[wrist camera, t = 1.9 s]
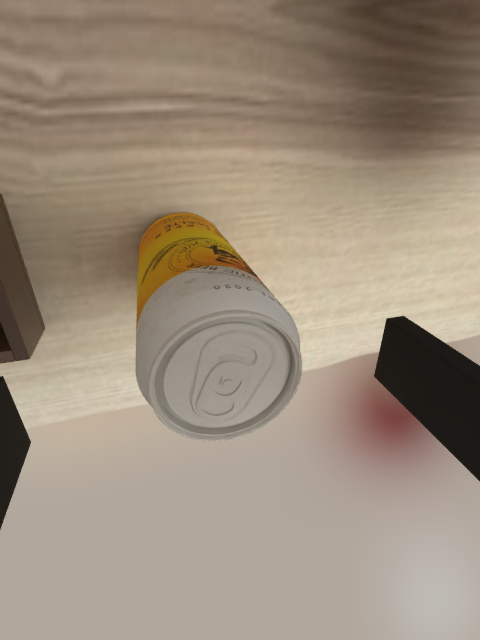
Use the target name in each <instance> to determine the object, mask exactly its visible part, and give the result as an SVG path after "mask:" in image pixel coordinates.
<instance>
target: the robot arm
mask: <svg viewBox="0 0 480 640" xmlns="http://www.w3.org/2000/svg"><path fill="white" fill-rule="evenodd" d="M374 376H375V378H377V380H378V381H379V382H380V383H381V384H383V386H384V387H385V388H386V389H387V390H388V391H389V392H390V393H391V394H392V395H393V396H394V397H395V398H397V399H398V400H399V402H400V403H401V404H402V405H404V406H405V407H406V409H408V411H410V412H411V413H412V414H413V415H414V416H415V417H416V418H417V419H418V420H419V421H420V422H421V423H422V424H423V425H424V426H425V427H426V428H427V429H428V430H429V431H430V432H431V433H432V434H433V435H434V436H435V437H436V438H437V439H438V440H439V441H440V442H441V443H442V444H443V445H444V446H445V447H446V448H447V449H448V450H449V451H450V452H451V453H452V454H453V455H454V456H455V457H456V458H457V459H458V460H459V461H460V462H461V463H462V464H463V465H464V466H465V467H466V468H467V469H468V470H469V471H470V472H471V473H472V474H473V475H474V476H475V477H476V478H477V479H478V480H479V481H480V366H479V365H478V364H476V363H474V362H473V361H471V360H470V359H468V358H467V357H465V356H464V355H462V354H461V353H459V352H458V351H456V350H455V349H453V348H452V347H450V346H449V345H447V344H446V343H444V342H443V341H441V340H440V339H438V338H436V337H435V336H433V335H432V334H430V333H429V332H427V331H426V330H424V329H423V328H421V327H420V326H418V325H417V324H415V323H414V322H412V321H411V320H409V319H408V318H406V317H404V316H401V317H394V318H387V320H386V324H385V329H384V333H383V338H382V342H381V347H380V352H379V357H378V361H377V365H376V370H375V374H374ZM30 443H31V441H30V439H29V436H28V434H27V432H26V429H25V427H24V425H23V422H22V420H21V417H20V415H19V413H18V410H17V408H16V406H15V403H14V401H13V399H12V396H11V394H10V392H9V389H8V387H7V384H6V382H5V380H4V377H3V376H1V377H0V529H1V526H2V523H3V520H4V517H5V515H6V512H7V509H8V506H9V503H10V500H11V498H12V495H13V492H14V489H15V486H16V483H17V480H18V478H19V475H20V472H21V469H22V466H23V464H24V461H25V458H26V455H27V452H28V449H29V447H30Z"/></svg>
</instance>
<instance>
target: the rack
mask: <svg viewBox="0 0 480 640" xmlns="http://www.w3.org/2000/svg"><path fill="white" fill-rule="evenodd" d="M44 330H45V326H44V323H43V320H42V317H41V314H40V311H39V308H38V304H37V301H36V298H35V295H34V292H33V289H32V286H31V283H30V280H29V277H28V274H27V271H26V268H25V265H24V262H23V258H22V255H21V252H20V249H19V246H18V243H17V240H16V237H15V234H14V231H13V228H12V225H11V222H10V219H9V216H8V212H7V209H6V206H5V203H4V200H3V197H2V195H1V194H0V363H6V362H13V361H20V360H27V359H30V358H31V356H32V354H33V352H34V350H35V348H36V346H37V344H38V342H39V340H40V338H41V336H42V334H43V331H44Z"/></svg>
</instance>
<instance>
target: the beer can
mask: <svg viewBox="0 0 480 640" xmlns="http://www.w3.org/2000/svg"><path fill="white" fill-rule="evenodd" d="M301 373H302V359H301V354H300V340H299V334H298V331H297V327H296V325H295V323H294V321H293V319H292V317H291V316H290V314H289V313H288V312H287V311H286V309H285V308H284V307H283V306H282V305H281V304H280V302H279V301H278V300H277V299H276V298H275V296H274V295H273V294H272V293H271V292H270V291H269V289H268V288H267V287H266V286H265V285H264V284H263V282H262V281H261V280H260V279H259V278H258V277H257V275H256V274H255V273H254V272H253V271H252V269H251V268H250V267H249V266H248V265H247V264H246V262H245V261H244V260H243V259H242V258H241V257H240V255H239V254H238V253H237V252H236V251H235V250H234V248H233V247H232V246H231V245H230V244H229V242H228V241H227V240H226V239H225V238H224V237H223V235H222V234H221V233H220V232H219V231H218V230H217V228H216V227H215V226H214V225H213V224H212V223H210V222H209V221H208V220H206V219H204V218H203V217H200V216H198V215H195V214H191V213H174V214H170V215H167V216H164V217H162V218H160V219H158V220H157V221H155V222H154V223H153V224H152V225H151V226H150V227H149V228H148V229H147V230H146V232H145V233H144V235H143V237H142V239H141V242H140V245H139V250H138V283H137V327H136V377H137V382H138V385H139V388H140V390H141V392H142V394H143V396H144V397H145V399H146V400H147V402H148V403H149V404H150V405H151V406H152V408H153V409H154V412H155V413H156V415H157V416H158V418H159V419H160V420H161V421H162V422H163V423H164V424H165V425H166V426H167V427H168V428H170V429H171V430H173V431H174V432H176V433H178V434H180V435H182V436H185V437H188V438H192V439H196V440H202V441H222V440H229V439H233V438H238V437H240V436H244V435H246V434H249V433H252V432H254V431H256V430H257V429H259V428H261V427H263V426H265V425H266V424H268V423H269V422H270V421H272V420H273V419H274V418H275V417H277V416H278V415H279V414H280V413H281V412H282V411H283V410H284V408H285V407H286V406H287V405H288V404H289V402H290V401H291V399H292V398H293V396H294V394H295V392H296V390H297V388H298V385H299V382H300V379H301Z"/></svg>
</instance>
